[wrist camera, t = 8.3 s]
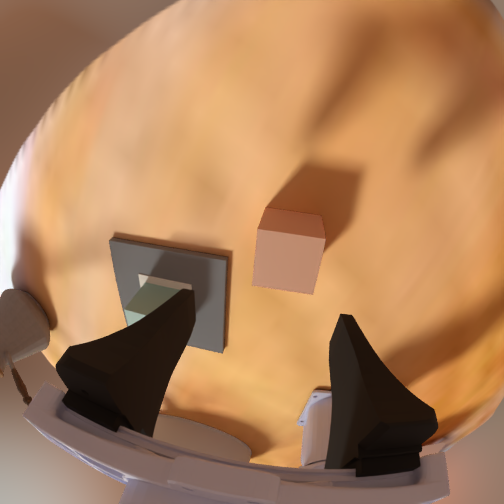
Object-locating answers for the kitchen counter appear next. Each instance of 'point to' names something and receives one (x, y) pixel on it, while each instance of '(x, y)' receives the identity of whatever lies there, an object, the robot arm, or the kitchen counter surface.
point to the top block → (288, 250)
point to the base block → (147, 301)
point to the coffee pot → (21, 332)
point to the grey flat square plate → (176, 283)
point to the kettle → (200, 438)
